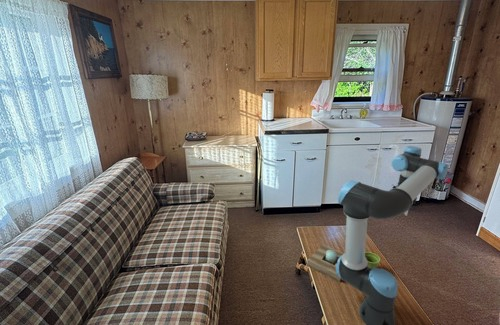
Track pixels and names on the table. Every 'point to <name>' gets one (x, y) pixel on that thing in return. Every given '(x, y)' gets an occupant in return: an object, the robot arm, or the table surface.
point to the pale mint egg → (331, 256)
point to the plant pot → (372, 259)
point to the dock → (324, 262)
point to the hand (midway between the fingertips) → (400, 214)
